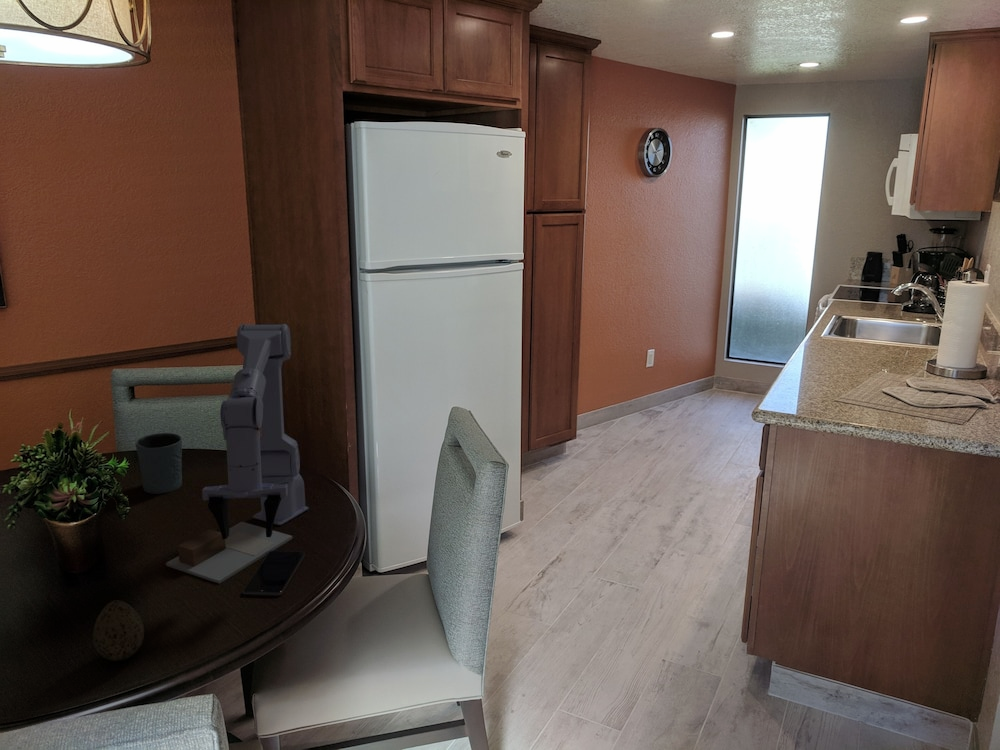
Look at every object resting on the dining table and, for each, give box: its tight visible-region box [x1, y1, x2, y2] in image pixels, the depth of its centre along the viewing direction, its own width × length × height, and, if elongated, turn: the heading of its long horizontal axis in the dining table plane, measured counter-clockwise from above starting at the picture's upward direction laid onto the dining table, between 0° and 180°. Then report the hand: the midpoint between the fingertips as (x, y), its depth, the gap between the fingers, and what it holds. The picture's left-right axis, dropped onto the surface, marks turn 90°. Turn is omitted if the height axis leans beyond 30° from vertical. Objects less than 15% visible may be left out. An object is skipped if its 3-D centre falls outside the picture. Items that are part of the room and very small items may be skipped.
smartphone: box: [242, 550, 306, 597], centre depth 144 cm, size 7×1×16 cm
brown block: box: [177, 528, 226, 567], centre depth 149 cm, size 8×4×4 cm, turn 154°
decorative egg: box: [92, 599, 145, 662], centre depth 118 cm, size 7×7×10 cm
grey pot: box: [135, 432, 183, 495], centre depth 180 cm, size 10×10×12 cm
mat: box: [165, 521, 293, 585], centre depth 152 cm, size 20×14×1 cm
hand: (247, 536), depth 137 cm, fingers open, 7 cm apart
